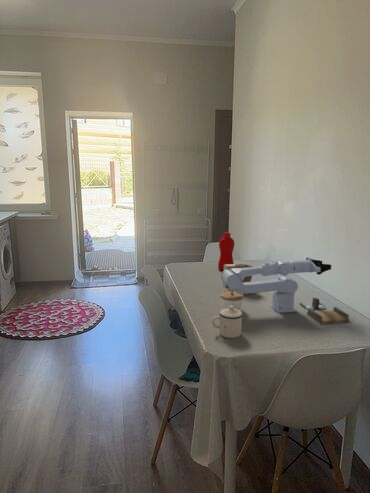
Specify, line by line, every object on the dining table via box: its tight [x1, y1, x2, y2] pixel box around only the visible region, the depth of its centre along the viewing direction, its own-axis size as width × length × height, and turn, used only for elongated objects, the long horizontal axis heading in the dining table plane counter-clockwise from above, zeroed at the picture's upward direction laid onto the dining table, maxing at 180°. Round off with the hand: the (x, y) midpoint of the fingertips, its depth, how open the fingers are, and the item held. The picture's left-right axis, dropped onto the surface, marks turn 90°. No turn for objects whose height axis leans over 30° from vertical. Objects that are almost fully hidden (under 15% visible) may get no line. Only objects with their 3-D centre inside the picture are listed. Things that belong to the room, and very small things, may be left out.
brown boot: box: [228, 263, 253, 292], centre depth 201 cm, size 15×12×15 cm
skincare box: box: [222, 264, 236, 288], centre depth 210 cm, size 6×4×12 cm
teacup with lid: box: [211, 306, 243, 339], centre depth 148 cm, size 12×9×12 cm
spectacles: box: [299, 297, 326, 311], centre depth 180 cm, size 10×8×5 cm
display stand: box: [306, 306, 350, 325], centre depth 166 cm, size 14×11×3 cm
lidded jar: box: [220, 290, 244, 310], centre depth 173 cm, size 11×11×9 cm
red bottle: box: [217, 232, 235, 272], centre depth 244 cm, size 9×11×25 cm
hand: (326, 265), depth 176 cm, fingers open, 7 cm apart
